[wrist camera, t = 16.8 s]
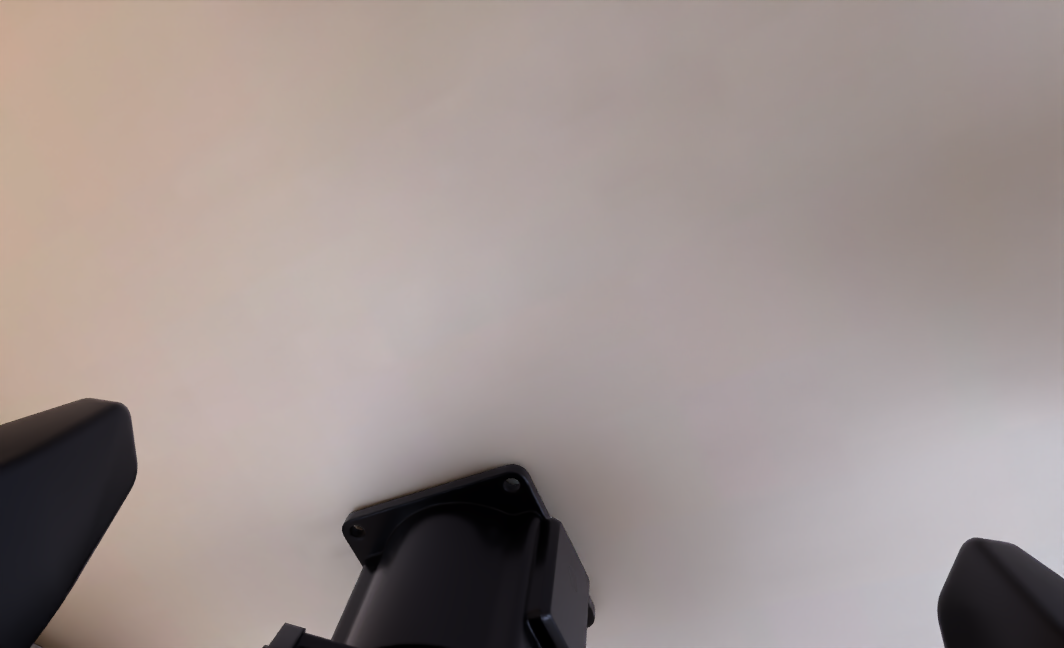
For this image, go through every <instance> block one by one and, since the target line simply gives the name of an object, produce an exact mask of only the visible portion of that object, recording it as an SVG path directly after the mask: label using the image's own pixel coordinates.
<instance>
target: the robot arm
mask: <svg viewBox="0 0 1064 648" xmlns="http://www.w3.org/2000/svg"><path fill="white" fill-rule="evenodd" d="M136 475H137V457H136V449H135V442H134V435H133V428H132V420H131V415H130V412H129V410H128V408H127V407H126V406H125V405H123V404H122V403H119V402H113V401H107V400H100V399H94V398H85V399H81V400H78V401H74V402H71V403H68V404H65V405H62V406H59V407H56V408H52V409H49V410H46V411H43V412H40V413H37V414H34V415H31V416H27V417H24V418H21V419H18V420H15V421H12V422H9V423H5V424H2V425H0V648H31V646H32V645H33V644H34V642H35V641H36V639H37V638H38V637H39V635H40V634H41V633H42V631H43V630H44V629H45V627H46V626H47V624H48V623H49V622H50V620H51V619H52V617H53V616H54V615H55V613H56V612H57V610H58V609H59V607H60V606H61V604H62V603H63V601H64V600H65V598H66V597H67V595H68V594H69V592H70V591H71V589H72V587H73V586H74V584H75V582H76V581H77V579H78V577H79V576H80V574H81V572H82V571H83V569H84V567H85V566H86V564H87V562H88V561H89V559H90V557H91V556H92V554H93V552H94V551H95V549H96V547H97V546H98V544H99V542H100V541H101V539H102V537H103V536H104V534H105V532H106V531H107V529H108V527H109V526H110V524H111V522H112V521H113V519H114V517H115V516H116V514H117V512H118V511H119V509H120V507H121V506H122V504H123V502H124V501H125V499H126V497H127V496H128V494H129V492H130V491H131V489H132V487H133V484H134V482H135V479H136ZM510 478H513V479H516V480H518V482H519V484H515V485H513V484H510V483H508V482H507V479H510ZM355 525H357V526H360V527H362V528H363V529H364V530H359V529H357V528H356V527H355ZM342 532H343V535H344V537H345V539H346V540H347V542H348V543H349V545H350V547H351V548H352V550H353V552H354V553H355V555H356V556H357V558H358V560H359V561H360V563H361V565H362V566H363V569H362V571H361V573H360V576H359V578H358V580H357V582H356V585H355V587H354V589H353V591H352V594H351V596H350V598H349V600H348V603H347V605H346V607H345V610H344V612H343V614H342V616H341V619H340V621H339V623H338V625H337V628H336V630H335V632H334V634H333V637H332V639H331V640H329V639H326V638H322V637H319V636H315V635H312V634H308V633H305V631H306V629H305V628H302V627H299V626H295V625H291V624H288V623H285V624H284V625H283V626H282V628H281V629H280V631H279V632H278V633H277V635H276V636H275V638H274V639H273V640H272V642H271V643H270V645H269V646H268V645H264V646H263V648H586V636H587V628H588V627H590V626H591V625H592V624H593V623H594V619H595V607H594V604H593V602H592V600H591V598H590V596H589V578H588V576H587V574H586V572H585V569H584V567H583V565H582V563H581V561H580V559H579V557H578V555H577V553H576V551H575V549H574V547H573V545H572V543H571V541H570V539H569V537H568V535H567V533H566V531H565V529H564V527H563V525H562V523H561V522H560V521H558V520H557V519H555V518H553V517H552V518H550V516H549V514H548V512H547V510H546V508H545V506H544V503H543V501H542V499H541V497H540V495H539V493H538V491H537V489H536V487H535V485H534V483H533V481H532V479H531V477H530V475H529V473H528V472H527V471H526V469H525V468H523V467H521V466H520V465H515V464H510V465H505V466H502V467H498V468H495V469H492V470H489V471H485V472H482V473H479V474H476V475H472V476H469V477H466V478H463V479H459V480H456V481H453V482H450V483H446V484H443V485H440V486H437V487H433V488H430V489H427V490H424V491H420V492H417V493H414V494H411V495H407V496H404V497H401V498H398V499H394V500H391V501H388V502H385V503H381V504H378V505H375V506H372V507H368V508H365V509H362V510H359V511H355V512H353V513H351V514H349V515H348V517H347V518H346V520H345V522H344V524H343V526H342ZM937 612H938V621H939V626H940V630H941V634H942V638H943V642H944V647H945V648H1064V579H1063V578H1062V577H1061V576H1059V575H1058V574H1056V573H1055V572H1053V571H1052V570H1051V569H1049V568H1048V567H1046V566H1045V565H1043V564H1042V563H1041V562H1039V561H1038V560H1036V559H1035V558H1033V557H1032V556H1031V555H1029V554H1028V553H1026V552H1025V551H1023V550H1022V549H1021V548H1019V547H1018V546H1016V545H1014V544H1011V543H1008V542H1002V541H996V540H989V539H983V538H971V539H969V540H967V541H966V542H965V543H964V544H963V545H962V547H961V549H960V551H959V553H958V555H957V557H956V559H955V562H954V564H953V566H952V568H951V571H950V573H949V575H948V577H947V579H946V582H945V584H944V586H943V588H942V591H941V593H940V596H939V600H938V608H937Z"/></svg>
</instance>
